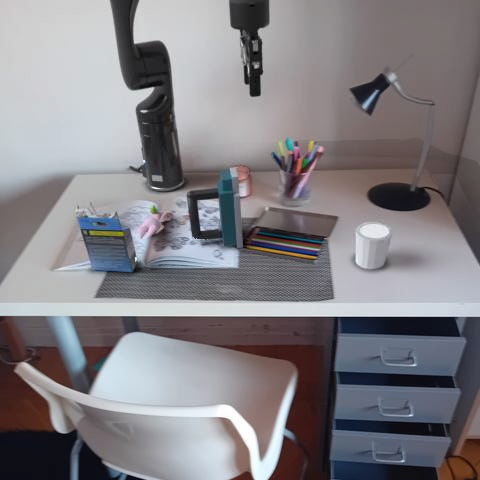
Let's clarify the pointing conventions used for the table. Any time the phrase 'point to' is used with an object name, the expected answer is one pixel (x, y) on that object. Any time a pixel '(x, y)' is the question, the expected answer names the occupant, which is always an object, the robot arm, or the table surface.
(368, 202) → the table surface
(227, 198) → the iron
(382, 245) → the shot glass
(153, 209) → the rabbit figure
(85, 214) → the soldier figure
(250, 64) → the robot arm
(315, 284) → the table surface
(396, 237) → the table surface
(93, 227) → the tape cartridge
